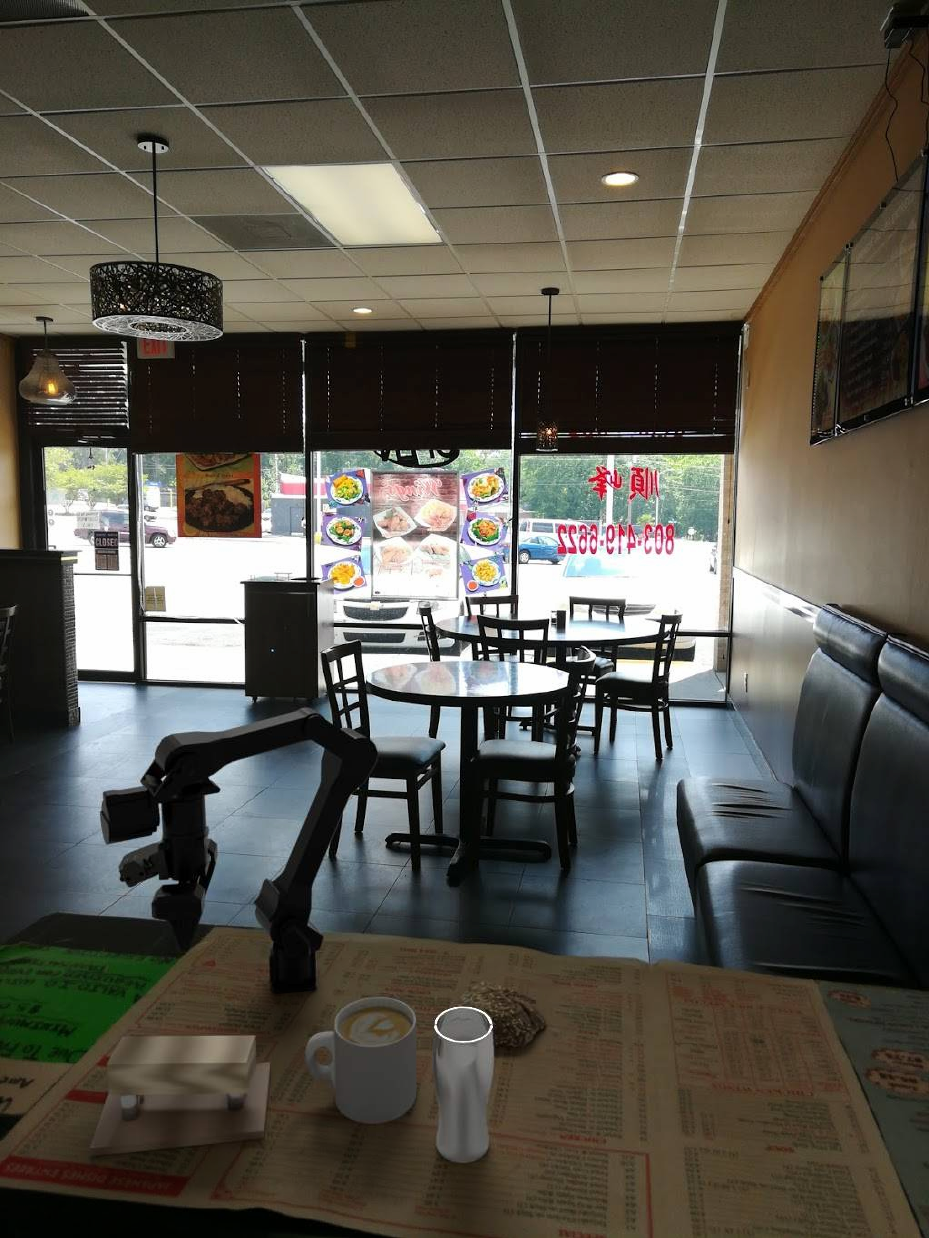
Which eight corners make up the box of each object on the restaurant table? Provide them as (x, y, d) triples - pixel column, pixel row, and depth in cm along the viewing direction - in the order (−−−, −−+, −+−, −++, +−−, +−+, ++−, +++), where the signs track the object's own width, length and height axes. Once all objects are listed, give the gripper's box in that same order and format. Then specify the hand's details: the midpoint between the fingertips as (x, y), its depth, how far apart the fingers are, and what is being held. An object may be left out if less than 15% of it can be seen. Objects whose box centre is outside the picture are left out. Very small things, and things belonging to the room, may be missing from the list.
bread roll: (439, 1037, 121) (439, 1004, 120) (472, 989, 132) (473, 958, 131) (528, 1061, 116) (529, 1027, 115) (555, 1009, 127) (556, 977, 126)
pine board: (256, 1065, 108) (255, 1035, 108) (247, 1093, 103) (246, 1062, 103) (124, 1066, 108) (122, 1036, 107) (109, 1094, 103) (106, 1063, 102)
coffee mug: (424, 1072, 113) (423, 1001, 112) (405, 1128, 104) (405, 1051, 102) (323, 1060, 115) (321, 989, 114) (296, 1114, 106) (294, 1038, 104)
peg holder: (270, 1069, 114) (269, 1040, 113) (263, 1138, 102) (262, 1107, 101) (115, 1083, 111) (113, 1054, 110) (89, 1156, 99) (87, 1124, 98)
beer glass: (487, 1171, 97) (488, 1047, 95) (425, 1161, 99) (425, 1039, 96) (497, 1126, 104) (499, 1009, 102) (439, 1117, 105) (440, 1001, 103)
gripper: (136, 805, 129) (142, 905, 131) (106, 860, 110) (113, 975, 113) (215, 801, 130) (220, 900, 133) (198, 855, 112) (203, 968, 115)
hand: (189, 933), depth 123 cm, fingers open, 9 cm apart
